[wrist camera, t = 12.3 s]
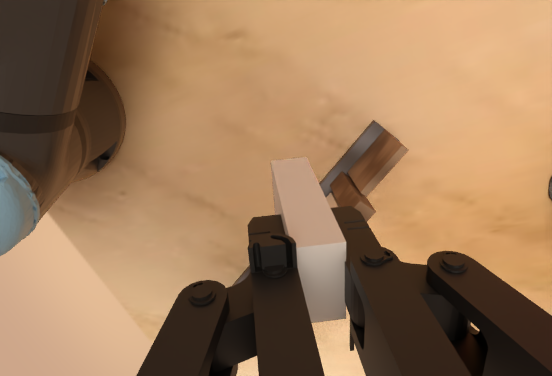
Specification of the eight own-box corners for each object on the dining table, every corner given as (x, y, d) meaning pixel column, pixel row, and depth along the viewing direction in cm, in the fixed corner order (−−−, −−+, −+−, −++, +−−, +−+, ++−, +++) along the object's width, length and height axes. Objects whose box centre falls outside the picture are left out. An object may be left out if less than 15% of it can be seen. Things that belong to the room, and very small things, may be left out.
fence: (373, 120, 51) (400, 143, 43) (398, 140, 53) (428, 166, 45) (201, 322, 62) (196, 371, 54) (225, 334, 64) (224, 384, 55)
